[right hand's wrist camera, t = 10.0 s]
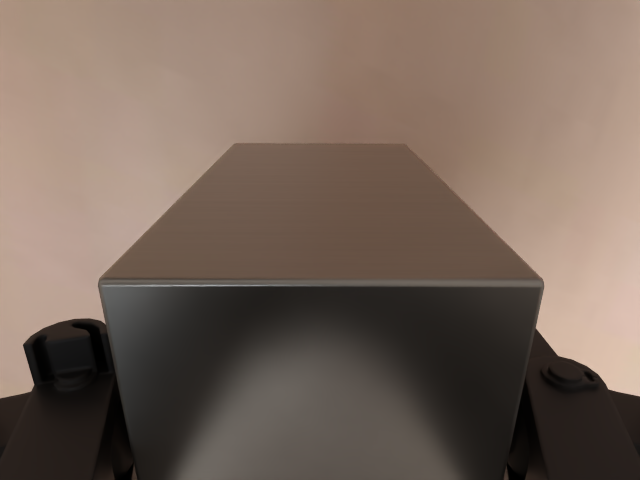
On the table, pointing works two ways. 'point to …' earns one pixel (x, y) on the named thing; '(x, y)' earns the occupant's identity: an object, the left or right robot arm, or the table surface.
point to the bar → (320, 324)
